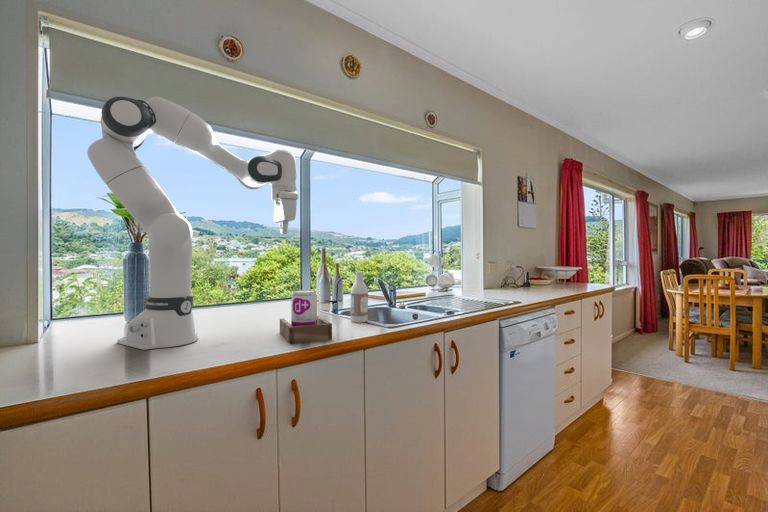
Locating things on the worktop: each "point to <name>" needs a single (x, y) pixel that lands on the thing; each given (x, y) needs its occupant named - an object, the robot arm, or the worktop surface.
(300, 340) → the bay
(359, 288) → the bath foam
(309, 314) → the supplement can
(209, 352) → the worktop surface
